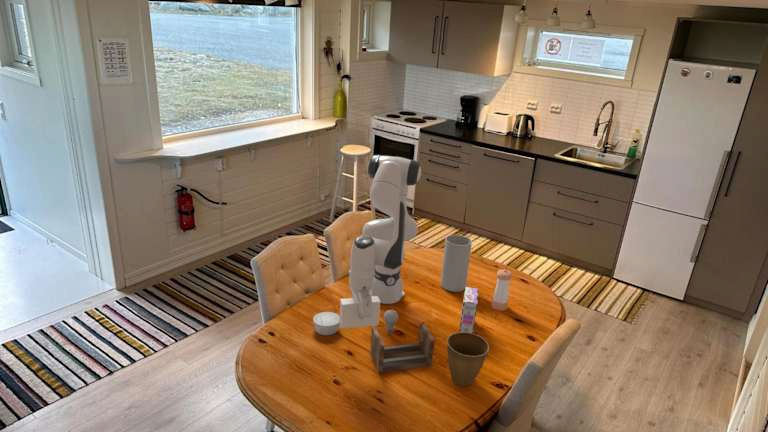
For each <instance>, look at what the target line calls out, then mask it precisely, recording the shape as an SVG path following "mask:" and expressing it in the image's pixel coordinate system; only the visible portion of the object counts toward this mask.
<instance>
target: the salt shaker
mask: <svg viewBox="0 0 768 432" xmlns="http://www.w3.org/2000/svg"><path fill="white" fill-rule="evenodd" d="M496 276H497V280H496V285H495V289H494V292H493V297H492V299H491V308H493V309H494V310H496V311H506V310H507V309H508V306H509V300H508V299H509V295H510V294H509V293H510V289H509V287H510V281H511V280H512V278H513V274H512V272H511V271H510V270H508V269H506V268H505V269H499V270H498V271H497V272H496Z"/></svg>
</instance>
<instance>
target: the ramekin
mask: <svg viewBox="0 0 768 432" xmlns="http://www.w3.org/2000/svg"><path fill="white" fill-rule="evenodd" d="M339 321H340V314H338V313H335V312H333V311H322V312H319V313H316V314H315V315H314V316H313V318H312V323H313V326H314V330H315V332H316V333H317V334H318V335H322V336H331V335H333V334H336V333H337V332H338V331H339V327H340V323H339Z"/></svg>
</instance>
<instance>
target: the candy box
mask: <svg viewBox="0 0 768 432" xmlns="http://www.w3.org/2000/svg"><path fill="white" fill-rule="evenodd" d="M478 299H479V288H476V287H470V286H466V287H465V289H464V292H463V299H462V300H463V301H462V307H461V313H460V315H461V316H460V324H459V330H458V331H459V332H468V333H473V334H474V328H475V321H476V320H475V319H476V315H477V310H478V309H477V308H478V301H479V300H478Z"/></svg>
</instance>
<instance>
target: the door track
mask: <svg viewBox="0 0 768 432" xmlns="http://www.w3.org/2000/svg"><path fill="white" fill-rule="evenodd" d="M418 330H419V331H418V338H417V343H409V344H408V343H407V344H400V345H392V346H385V344H384V341H383V339H382V337H381V335H380V334H379V331H378V329H377V327H376V326H375V327H373V326H372V327H371V337H370V351H369V354H370V356H371V359H372V361H373V364H374V366H375V368H376V370H377V373H378V374H383V373H389V372H390V373H391V372H397V371H398V372H399V371H407V370H412V369H421V368H428V367H433V366H432V365H433V357H434V350H435V349H434V348H435V341H436V340H435V337H434V336H433V335H432V333H431V332H430V330H429V329H428V327H427V325H426V323H425V321H423V322H421V321H420V322H419V329H418Z"/></svg>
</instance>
